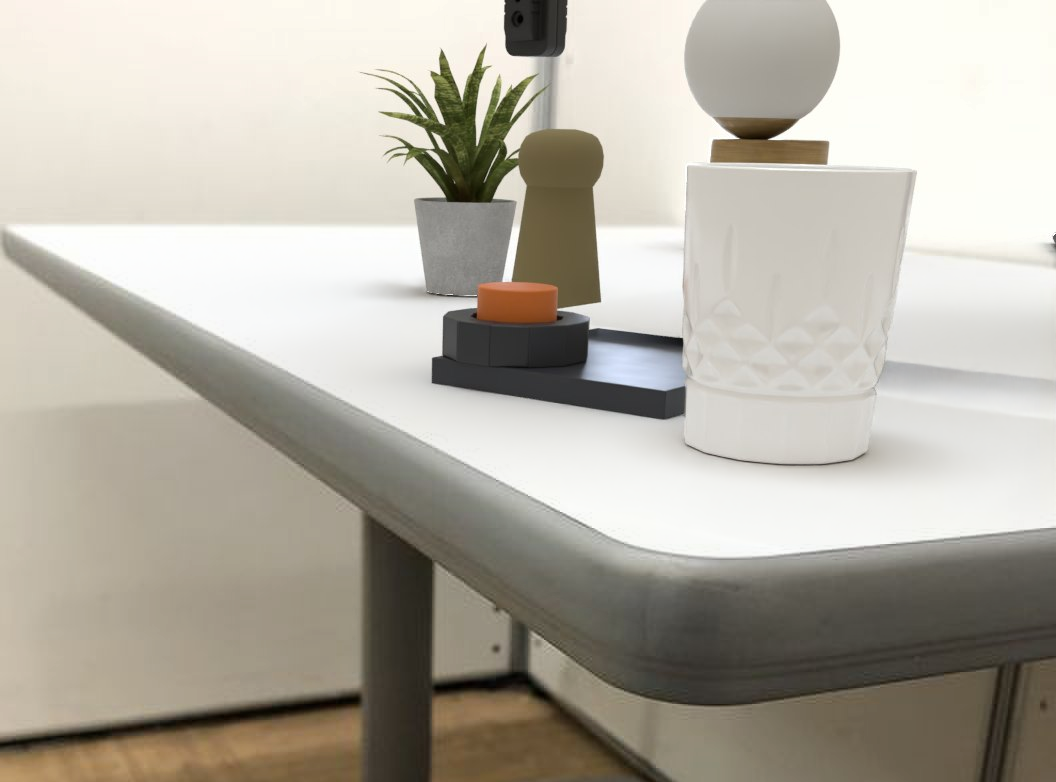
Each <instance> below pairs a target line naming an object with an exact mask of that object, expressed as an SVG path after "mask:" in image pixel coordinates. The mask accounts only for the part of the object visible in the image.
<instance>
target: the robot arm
mask: <svg viewBox="0 0 1056 782" xmlns="http://www.w3.org/2000/svg"><path fill="white" fill-rule="evenodd" d="M503 1H504V5H503V6H504V7H503V13H504V15H503V31H504V37H505V38H504V39H505V40H504V46H505V50H506V53H507V54H508V55H510V56H511V57H517V58H518V57H521V58H557V57H560V56H561V55H562V54H563V53H564V51H565V48H566V35H567V29H568V17H567V16H568V3H569V1H568V0H503ZM1052 240H1053V242H1054V244H1055V245H1056V234H1055V235H1054V236H1053V235H1052Z"/></svg>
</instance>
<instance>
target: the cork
mask: <svg viewBox="0 0 1056 782" xmlns="http://www.w3.org/2000/svg"><path fill="white" fill-rule="evenodd" d="M519 148H520V150H519V152H518V153H517V154H518V157H517V158H518V166H517V167H518V170H519V175H520V177H521V178H522V180H523V182H524V184H525V185H526V188H525V194H524V200H523V207H522V213H521V220H520V224H519V225H520V226H519V232H518V238H517V245H516V250H515V257H514V262H513V270H512V277H511V281H510V282H528V283H540V284H548V285H553V286H556V287H557V288H558V301H557V310H559V309H566V308H572V307H579V306H585V305H593V304H599V303H602V296H601V295H602V293H601V281H600V280H601V279H600V265H599V254H598V253H599V251H598V240H597V225H596V211H595V195H594V186H595V185H596V184H597V182H598V181H599V179H600V178H601V176H602V172H603V169H604V162H605V161H604V159H605V154H604V149H603V145H602V143H601V141H600V139H599V138H598V137H597V136H596V135H595V134H593V133H591V132H587V131H584V130H580V129H576V128H575V129H574V128H546V129H545V128H544V129H541V130H537V131H533V132H530V133H528V134H527V135H526V136H525V137H524V139H523V140H522V142H521V144H520V147H519Z"/></svg>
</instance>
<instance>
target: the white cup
mask: <svg viewBox="0 0 1056 782" xmlns="http://www.w3.org/2000/svg"><path fill="white" fill-rule="evenodd" d="M917 175H918V170H916V169H915V168H906V167H891V166H890V167H889V166H871V165H870V166H867V165H845V164H844V165H843V164H842V165H840V164H827V165H815V164H778V163H708V162H689V163H687V164H686V165H685V197H684V198H685V199H684V233H683V234H684V235H683V236H684V237H683V265H682V267H683V268H682V287H681V288H682V297H683V298H682V299H683V309H682V319H681V320H682V321H681V333H682V338H683V354H682V368H683V370H684V372H685V373H686V375H687V377H686V378H685V403H684V414H683V437H684V442H685V444H686V445H687V446H690V447H692V448H694V449H696V450H698V451H700V452H703V453H705V454H707V455H713V456H717V457H721V458H728V459H732V460H736V461H737V460H738V461H745V462H753V463H754V462H755V463H765V464H776V465H826V464H834V463H841V462H847V461H852V460H855V459H857V458H859V457H861V456H862V455H864V454H865V453H867V451H868V450H869V444H870V439H871V432H872V425H873V418H874V411H875V407H876V399H877V390H876V387H875V386H877V385H878V383H879V379H880V377H881V375H882V372H883V369H884V366H885V363H886V362H885V361H886V357H887V350H888V344H889V343H888V341H889V335H890V334H889V333H890V330H891V327H892V323H893V319H894V314H895V308H896V304H897V303H896V302H897V296H898V291H899V284H900V279H901V272H902V267H903V259H904V254H905V247H906V241H907V235H908V229H909V222H910V218H911V217H910V215H911V211H912V204H913V199H914V192H915V187H916V181H917V177H918V176H917Z"/></svg>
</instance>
